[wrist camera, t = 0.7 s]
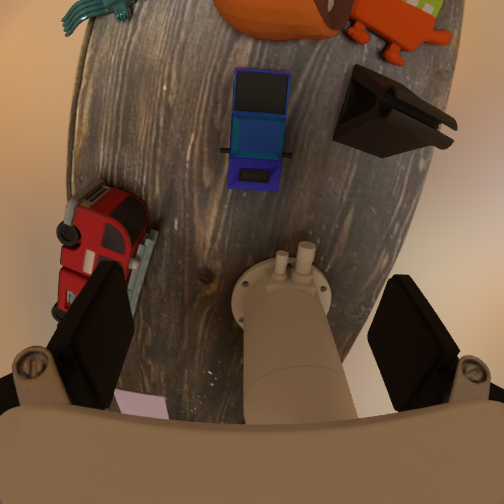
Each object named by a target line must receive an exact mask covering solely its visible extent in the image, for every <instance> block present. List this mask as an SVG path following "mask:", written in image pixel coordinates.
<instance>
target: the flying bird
mask: <svg viewBox="0 0 504 504" xmlns="http://www.w3.org/2000/svg"><path fill="white" fill-rule="evenodd" d="M135 1H136V0H80V1H77V2H76V3H75V4H74V5H73V6H72V7H71V8H70V10H69V11H68V13H67V14H66V15H65V16H64V17H63V18H62V20H61V21H62V22H64V23H63V26H64V27H65V28H64V32H67V31H68V32H67V33H66V34H65V36H66V37H68V36H70V35H71V34H72V33H73V31H74V30H75V29H76V27H77V26H78V25H79V24H80V23H81V22H83V21H84V20H86V19H88V18H91V17H94V16H98V15H102V14H106V13H109V12H114V13H115V16H116V19H117V21H118V22H119V21H123V23H124V21H125V22H126V17H131V16H132V13H131V10H130V5H132V4H134V3H135ZM101 9H102V10H101ZM93 11H94V12H93ZM87 13H88V14H87Z"/></svg>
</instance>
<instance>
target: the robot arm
mask: <svg viewBox="0 0 504 504" xmlns="http://www.w3.org/2000/svg"><path fill="white" fill-rule="evenodd" d="M315 251H316V245H315V244H314V243H312V242H308V241H301V242H299V245H298V251H297V256H296V258H292V257H289V253H288V252H286V251H283V250H279V251H277V252H276V258H271V259H268V260H264V261H261V262H259V263H257V264H255V265H254V266H252V267H251V268H249V269H248V270H247V271H245V272H244V273H243V274H242V276H241V277H240V278H239V279H238V281H237V283H236V284H235V286H234V289H233V292H232V299H231V306H232V312H233V316H234V318H235V320H236V321H237V323H238V324H239V325H240V326H241V328H242V329H243V330H244V376H243V399H244V401H243V406H244V419H245V422H246V424H217V423H200V422H187V421H177V420H167V419H159V418H151V417H144V416H136V415H129V414H123V413H117V412H111V411H105V408H109V407H110V405H111V401H112V398H113V395H114V391H115V388H116V385H117V382H118V379H119V376H120V372H121V369H122V366H123V363H124V360H125V357H126V354H127V351H128V348H129V345H130V343H131V340H132V337H133V334H134V321H133V317H132V312H131V307H130V302H129V297H128V292H127V286H126V281H125V275H124V269H123V267H122V266H119V264H118V262H117V261H106V260H102V261H100V262H99V264H98V265H97V267H96V268H95V270H94V271H93V273H92V274H91V276H90V277H89V279H88V280H87V282H86V283H85V285H84V286H83V288H82V290H81V291H80V293H79V294H78V296H77V297H76V298H75V299H74V301H73V302H72V304H71V306H70V307H69V309H68V311H67V312H66V314H65V316H64V317H63V319H62V321H61V322H60V324H59V326H58V327H57V329H56V331H55V333H54V335H53V336H52V338H51V340H50V342H49V343H48V345H47V347H46V348H45V347H42V346H31V347H28V348H26V349H24V350H22V351H21V352H20V353H19V354H18V355H17V356H16V357H15V359H14V361H13V364H12V373H11V374H8V375H6V376H4V377H2V378H0V504H504V389H502V388H500V387H498V386H497V385H495V384H493V383H491V382H490V380H491V375H490V371H489V368H488V367H487V365H486V364H485V363H484V362H483V361H482V360H480V359H479V358H477V357H474V356H469V355H466V356H463V357H462V358H460V359H459V358H458V357H457V355H458V354H459V352H460V350H459V348H458V346H457V345H456V343H455V342H454V340H453V338H452V337H451V335H450V334H449V332H448V331H447V329H446V327H445V326H444V324H443V323H442V321H441V320H440V318H439V317H438V315H437V314H436V312H435V311H434V309H433V308H432V306H431V305H430V304H429V302H428V301H427V299H426V298H425V296H424V295H423V293H422V292H421V291H420V289H419V288H418V286H417V285H416V284H415V282H414V281H413V279H412V278H411V277H410V276H409V275H401V274H395V275H393V276H392V278H390V279H389V280H388V281H387V284H386V287H385V290H384V292H383V295H382V298H381V300H380V303H379V306H378V309H377V311H376V313H375V316H374V319H373V321H372V324H371V326H370V329H369V331H368V335H367V336H368V337H367V338H368V343H369V345H370V347H371V350H372V352H373V355H374V357H375V360H376V362H377V365H378V368H379V370H380V373H381V375H382V378H383V380H384V383H385V386H386V388H387V391H388V394H389V397H390V399H391V402H392V405H393V407H394V409H395V410H396V411H398V413H392V414H386V415H380V416H374V417H366V418H358V416H357V413H356V409H355V407H354V403H353V400H352V397H351V393H350V390H349V387H348V383H347V380H346V376H345V373H344V370H343V367H342V363H341V360H340V357H339V354H338V351H337V347H336V344H335V341H334V338H333V335H332V332H331V329H330V326H329V323H328V320H327V317H326V315H327V313H328V311H329V308H330V305H331V291H330V287H329V284H328V282H327V280H326V278H325V276H324V275H323V273H322V272H321V271H320V270H319V269H318V268H317V267H315V266H314V265H312V262H313V261H314V256H315ZM289 263H290V264H289ZM287 264H289V265H287ZM245 281H247V282H245Z"/></svg>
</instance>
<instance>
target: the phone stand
mask: <svg viewBox="0 0 504 504" xmlns="http://www.w3.org/2000/svg"><path fill="white" fill-rule="evenodd" d="M441 123H443V124H445V125H446V126H448V127H450V128H451V129H453V130H455V131H456V130H457V123H456V120H455V119H454V118H452V117H451V116H449V115H447V114H446V113H444V112H443V111H441V110H439V109H437V108H436V107H434V106H432V105H430V104H429V103H427V102H425V101H423V100H421V99H420V98H419V97H418V96H416V95H415V94H414V93H413V92H412V91H410V90H409V89H408V88H407V87H405V86H404V85H402V84H400V83H398V82H396V81H394V80H392V79H390V78H387V77H385V76H383V75H381V74H379V73H376V72H374V71H372V70H370V69H367V68H365V67H363V66H360V65H358V64H355V66H354V69H353V73H352V76H351V80H350V83H349V87H348V90H347V94H346V97H345V102H344V104H343V107H342V111H341V114H340V117H339V121H338V124H337V127H336V130H335V134H334V137H333V141H336V142H339V143H342V144H345V145H347V146H350V147H353V148H356V149H359V150H361V151H364V152H367V153H369V154H372V155H375V156H377V157H380V158H385V157H389V156H392V155H396V154H400V153H403V152H407V151H411V150H414V149H418V148H422V147H426V146H430V145H432V146H435V147H437V148H439V149H442V150H443V149H447V148H448V147H450V146H451V145H452V143H453V142H454V140H453V139H451V138H450V137H448V136H446V135H444V134H442V133H441V132H439V131H437V129H439V124H441Z"/></svg>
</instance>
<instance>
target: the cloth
mask: <svg viewBox="0 0 504 504" xmlns="http://www.w3.org/2000/svg"><path fill="white" fill-rule="evenodd" d="M114 395H115V397H116V400H117V403H118V405H119V408H120V410H121V413H123V414H129V415H136V416H144V417H151V418H159V419H167V420H169V415H168V411H167V406H166V401H165V396H160V395H153V394H147V393H140V392H135V391H129V390H123V389H118V388H115V391H114Z"/></svg>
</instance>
